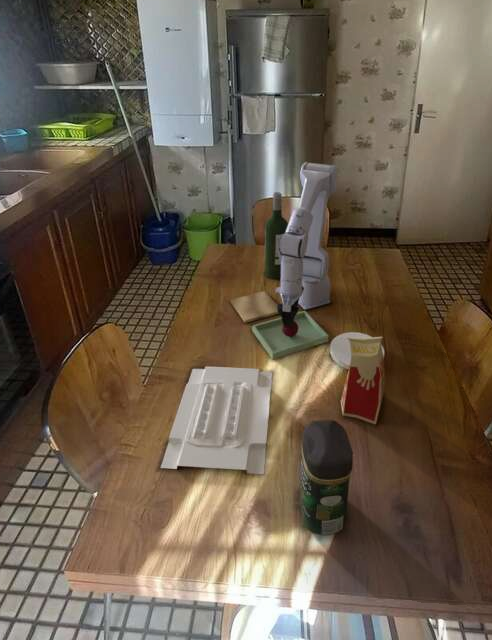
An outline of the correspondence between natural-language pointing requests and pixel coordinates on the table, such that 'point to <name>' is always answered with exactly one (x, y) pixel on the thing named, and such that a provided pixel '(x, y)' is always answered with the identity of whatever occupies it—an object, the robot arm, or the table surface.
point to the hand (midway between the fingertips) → (290, 318)
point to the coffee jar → (325, 476)
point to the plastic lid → (344, 348)
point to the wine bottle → (274, 238)
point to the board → (255, 306)
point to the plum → (290, 330)
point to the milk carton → (364, 380)
